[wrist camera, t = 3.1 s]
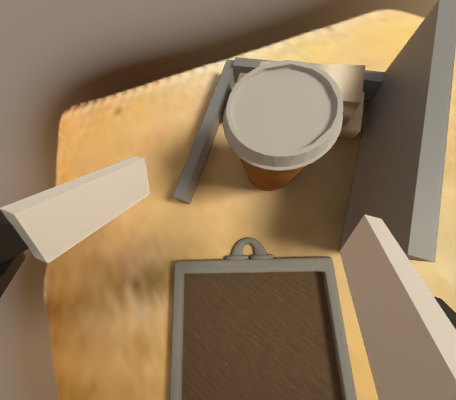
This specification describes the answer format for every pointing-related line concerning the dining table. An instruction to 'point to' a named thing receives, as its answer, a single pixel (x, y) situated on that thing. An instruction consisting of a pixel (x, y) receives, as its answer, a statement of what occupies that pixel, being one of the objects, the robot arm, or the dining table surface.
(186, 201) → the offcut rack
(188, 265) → the empty picture frame
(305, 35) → the dining table surface
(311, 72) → the disposable coffee cup
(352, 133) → the offcut stack
